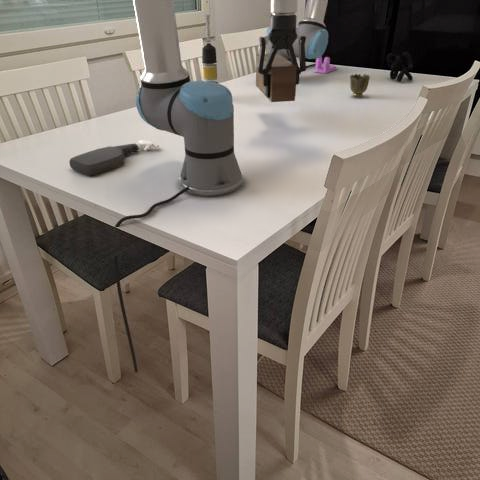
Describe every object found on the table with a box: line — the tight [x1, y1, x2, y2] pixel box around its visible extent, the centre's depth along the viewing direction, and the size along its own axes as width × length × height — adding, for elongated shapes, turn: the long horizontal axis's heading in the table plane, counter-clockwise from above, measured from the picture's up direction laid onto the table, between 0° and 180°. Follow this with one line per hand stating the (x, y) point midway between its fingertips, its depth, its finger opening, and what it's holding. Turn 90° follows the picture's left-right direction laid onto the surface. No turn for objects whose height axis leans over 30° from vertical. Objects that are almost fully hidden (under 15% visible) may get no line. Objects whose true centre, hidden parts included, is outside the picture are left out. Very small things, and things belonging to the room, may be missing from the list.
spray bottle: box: [68, 139, 160, 177], centre depth 124 cm, size 3×11×24 cm
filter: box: [201, 14, 219, 84], centre depth 171 cm, size 6×6×30 cm
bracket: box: [314, 56, 337, 74], centre depth 219 cm, size 13×6×7 cm, turn 143°
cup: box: [349, 73, 371, 98], centre depth 175 cm, size 8×7×8 cm
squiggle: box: [385, 51, 414, 83], centre depth 198 cm, size 11×10×15 cm
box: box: [255, 53, 297, 103], centre depth 143 cm, size 23×7×10 cm, turn 10°
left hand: (280, 96), depth 139 cm, fingers closed on box, 7 cm apart
